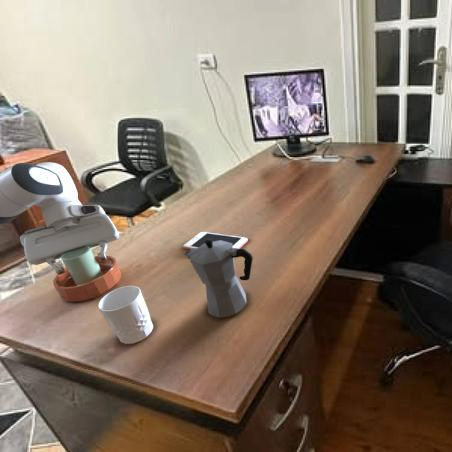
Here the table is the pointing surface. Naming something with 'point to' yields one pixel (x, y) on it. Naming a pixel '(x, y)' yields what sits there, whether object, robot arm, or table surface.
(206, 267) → the coffeepot
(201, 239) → the cell phone
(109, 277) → the bowl
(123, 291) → the white cup
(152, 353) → the table surface
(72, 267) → the cup
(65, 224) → the robot arm
